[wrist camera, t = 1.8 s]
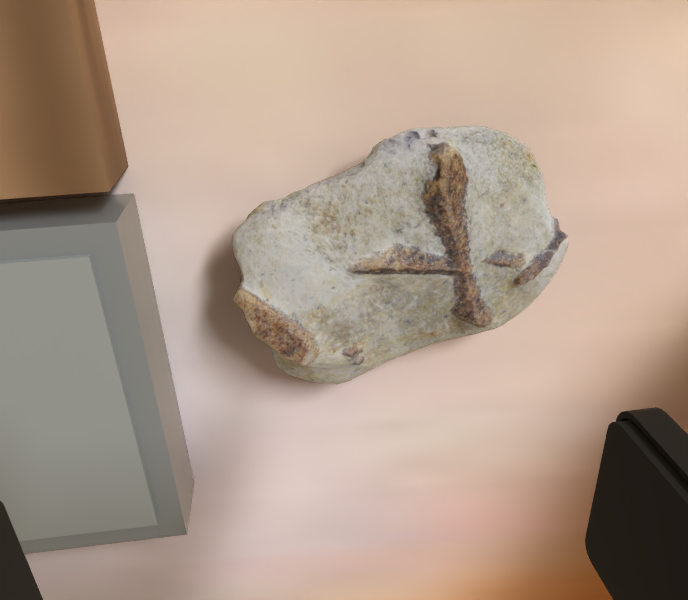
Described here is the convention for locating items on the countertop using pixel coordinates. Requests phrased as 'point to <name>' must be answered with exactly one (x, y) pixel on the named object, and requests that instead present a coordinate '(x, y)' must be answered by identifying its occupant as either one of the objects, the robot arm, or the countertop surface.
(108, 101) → the walnut stand
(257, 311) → the stone
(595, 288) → the countertop surface
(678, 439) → the robot arm
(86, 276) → the slate stand
